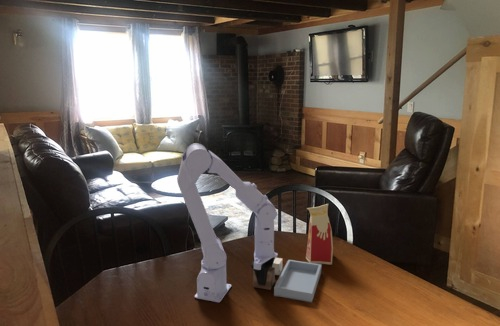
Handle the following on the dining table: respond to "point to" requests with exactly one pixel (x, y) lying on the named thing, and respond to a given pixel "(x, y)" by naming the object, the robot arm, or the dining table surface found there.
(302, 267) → the tote
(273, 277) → the walnut block
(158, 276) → the dining table surface
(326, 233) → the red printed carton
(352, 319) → the dining table surface
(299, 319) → the dining table surface
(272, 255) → the robot arm
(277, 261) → the cream box
